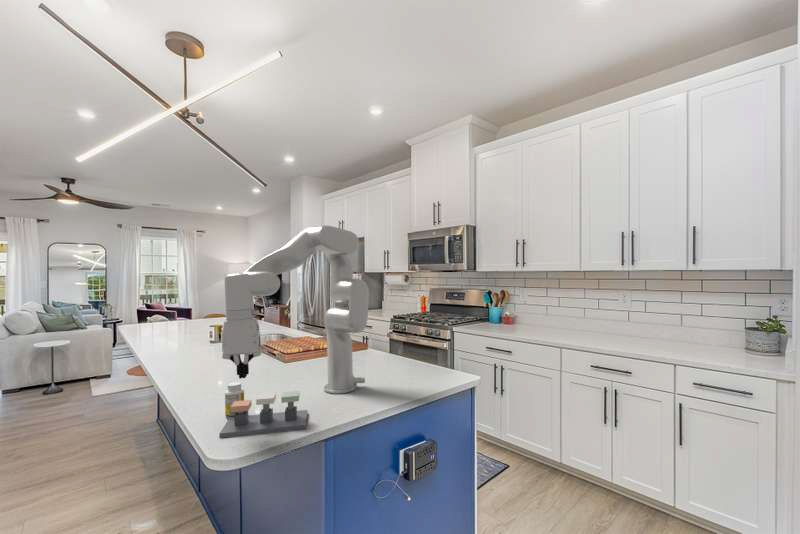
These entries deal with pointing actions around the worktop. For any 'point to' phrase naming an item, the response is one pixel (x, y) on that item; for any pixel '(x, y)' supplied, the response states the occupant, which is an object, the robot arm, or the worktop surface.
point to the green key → (290, 398)
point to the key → (241, 406)
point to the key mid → (266, 400)
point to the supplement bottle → (233, 397)
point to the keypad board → (264, 422)
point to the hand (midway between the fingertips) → (243, 377)
